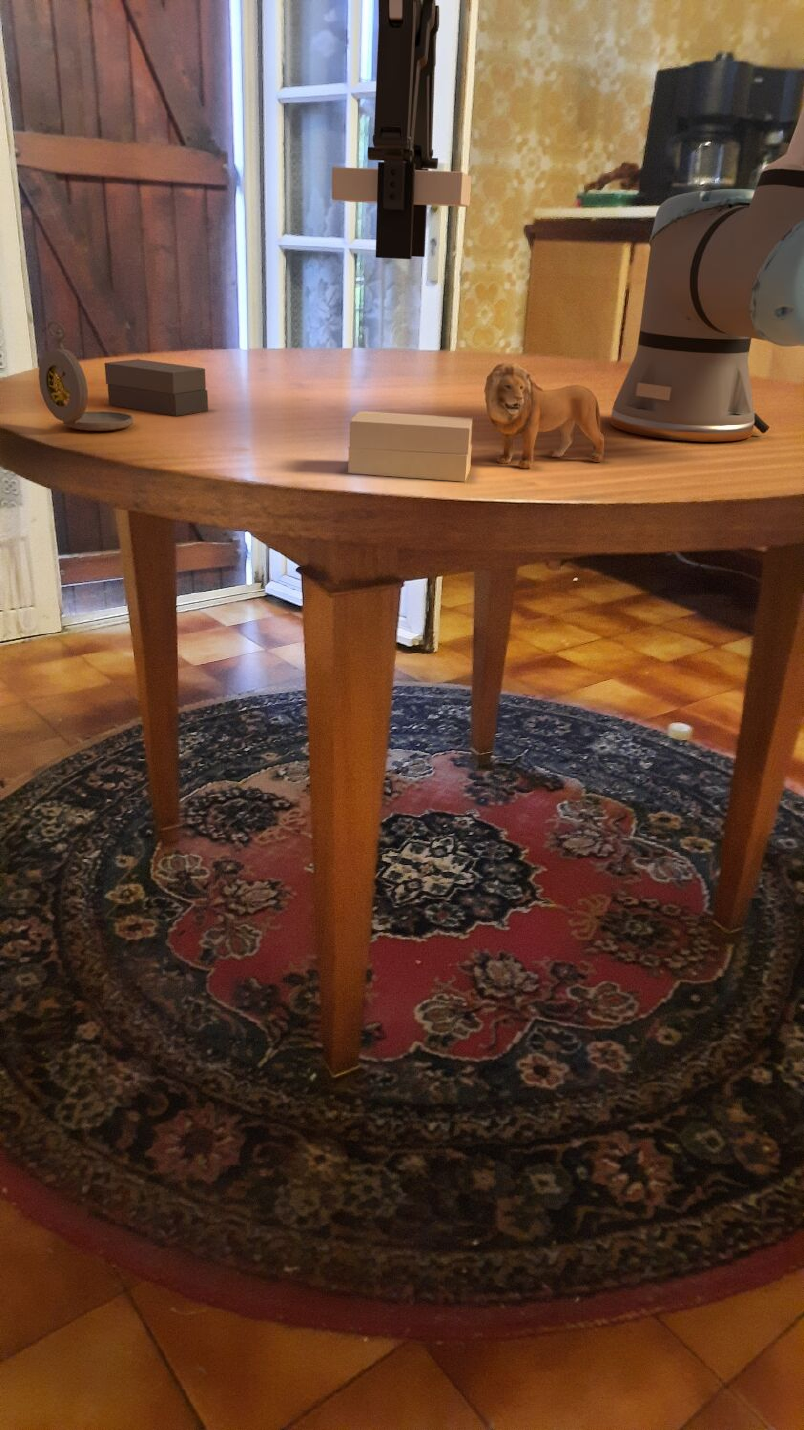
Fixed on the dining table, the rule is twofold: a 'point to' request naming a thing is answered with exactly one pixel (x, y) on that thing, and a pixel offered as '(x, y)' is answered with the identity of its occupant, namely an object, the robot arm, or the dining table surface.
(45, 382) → the pocket watch
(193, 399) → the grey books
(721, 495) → the dining table surface
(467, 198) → the beige flat block
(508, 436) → the lion figurine
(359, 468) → the beige cardboard block
